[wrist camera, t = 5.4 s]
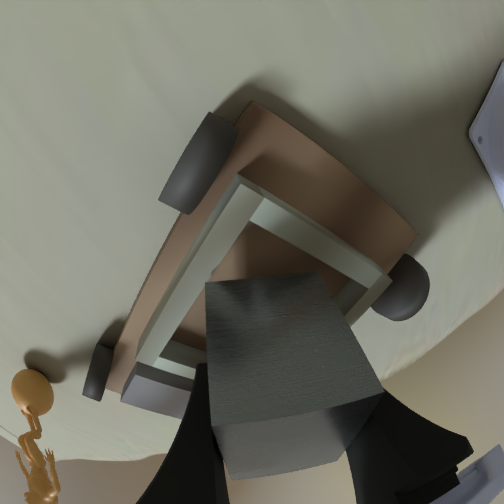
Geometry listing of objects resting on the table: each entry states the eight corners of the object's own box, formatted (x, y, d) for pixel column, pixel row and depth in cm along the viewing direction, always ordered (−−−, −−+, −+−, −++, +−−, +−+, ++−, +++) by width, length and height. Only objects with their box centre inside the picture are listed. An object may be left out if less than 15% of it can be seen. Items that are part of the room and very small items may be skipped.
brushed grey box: (317, 270, 11) (385, 391, 6) (303, 363, 14) (337, 460, 9) (204, 282, 11) (211, 426, 6) (219, 374, 14) (231, 480, 9)
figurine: (38, 345, 15) (-5, 489, 5) (97, 389, 18) (80, 524, 8) (8, 371, 17) (-24, 477, 6) (56, 406, 19) (38, 509, 9)
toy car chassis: (418, 236, 15) (455, 267, 12) (241, 414, 22) (246, 449, 19) (225, 86, 10) (232, 78, 7) (88, 370, 17) (78, 409, 14)
